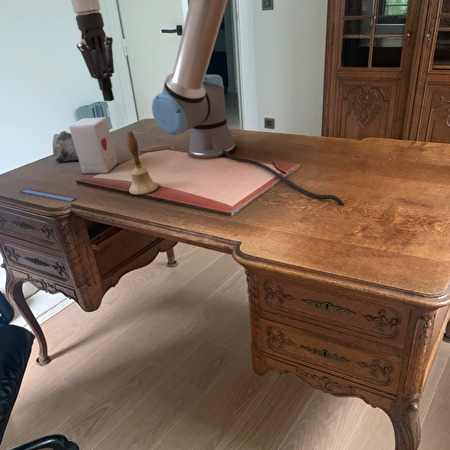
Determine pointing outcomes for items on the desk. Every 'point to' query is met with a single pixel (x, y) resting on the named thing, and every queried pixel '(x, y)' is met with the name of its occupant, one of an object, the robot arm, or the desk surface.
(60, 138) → the mineral rock
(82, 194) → the desk surface
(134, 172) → the hand bell
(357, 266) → the desk surface
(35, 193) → the tape line
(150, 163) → the desk surface
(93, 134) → the rectangular carton
